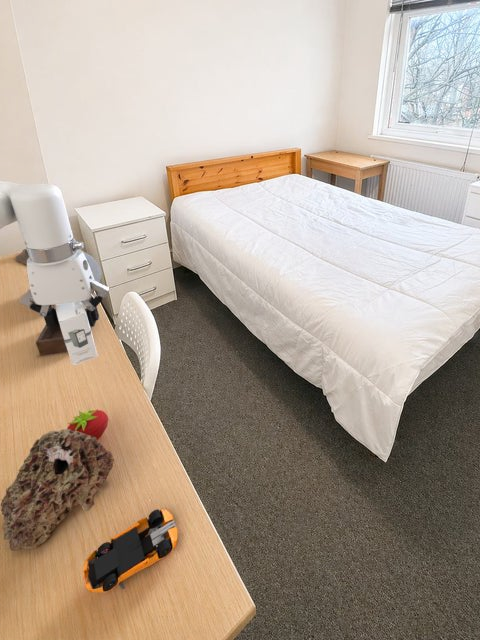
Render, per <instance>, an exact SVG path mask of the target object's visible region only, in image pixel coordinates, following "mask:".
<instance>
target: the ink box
mask: <svg viewBox="0 0 480 640" xmlns="http://www.w3.org/2000/svg"><path fill="white" fill-rule="evenodd" d="M85 308H86V307H85V305H84V304H83V303H82V302H81V301H80V302H71V303H63V304H54V309H56V313H57V317H58V321H59V324H60V328H61V331H62V335H63V338H64V341H65V344H66V347H67V350H68V351H67V353H68V357H69V359H70V362H71V364H72V367H75V366H77V365H80V364H83V363H85V362H88V361H91V360H93V359H96V358H98V356H99V355H98V351H97V347H96V343H95V340H94V336H93V332H92V329H91V328H92V327H91V326H90V325H89V321H88V318H87V314H86V311H85Z"/></svg>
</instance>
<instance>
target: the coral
mask: <svg viewBox="0 0 480 640" xmlns="http://www.w3.org/2000/svg"><path fill="white" fill-rule="evenodd" d="M114 461H115V459H114V457H113V453H112V452H111V451H110V450H108V449H106V447H105V446H103V444H102V443H101V442H98V441H97V439H96V437H93V436H90V435H86V434H84V433H81V432H78V431H75V432H74V431H72V430H70V429H67V428H65V429H61V430H50V431H49V432H46V433H44V434H42V435H41V437H40V438H38V439H36V440H35V442H34V443H33V445H32V447H30V449H29V453H28V455H27V457H26V458H25V459H24V460H23V464H22V465H21V466H20V467H19V469H18V473H17V475H16V478H15V480H14V481H13V482H12V483H11V484H10V485H9V487H7V488H5V495H4V496H3V498H2V499H1V502H0V507H1V508H0V512H1V515H3V520H4V523H3V527H2V529H3V540H5V541H7V540H8V548H9V549H10V550H11V551H19V550H21V549H25V550H27V549H29V550H30V549H38V548H39V547H40V546H41V545H42V544H43V543H45V542H46V541H47V539H48V538H50V537H52V531H54V530H55V529H56V527H57V525H59V524H60V523H61V521H63V520H64V519H66V518H67V517H68V514H69V513H71V511H72V510H74V509H75V508H76V507H77V506H78V505H80V506H81V508H82V509H83V511H84V512H89V511H90V510H91V508H92V507H93V506H94V505H95V500H94V497H95V494H96V493H98V491H99V490H100V489H101V488H102V487H103V486H104V483H105V481H106V480H107V478H108V476H109V475H110V472H111V470H112V469H113V467H114V466H113V465H114Z"/></svg>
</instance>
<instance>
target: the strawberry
mask: <svg viewBox="0 0 480 640" xmlns="http://www.w3.org/2000/svg"><path fill="white" fill-rule="evenodd" d="M78 413H79V414H78V416H73V417H72V418H73V420H71V421H70V422H68V423H67V425H68V426H67V428H66V429H70V430H72V431H74V432H75V431H78V432H81V433H84V434H86V435H90V436H93V437H96V439H97V442H98V441H99V440H100V439H101V438H102V436H103V434H104V433H105V432H106V430H107V428H108V423H109V415H108V414H107V413H106V412H105V411H103V410H101V409H98V408H97V409H95V410H94V409H93V410H90V408H88V409H87V410H86V411H85V412H82V411H81V410H78Z"/></svg>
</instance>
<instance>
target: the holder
mask: <svg viewBox="0 0 480 640" xmlns="http://www.w3.org/2000/svg"><path fill="white" fill-rule="evenodd" d="M84 308H85V311H87V308H86V307H84ZM35 346H36V347H37V350H38V353H39V356H41V357H43V356H47V355H48V356H49V355H53V354H54V355H55V354H60V353H61V354H62V353H66V352H67V353H68V350H67V347H66V344H65V341H64V338H63V335H62V331H61V328H60V324H59V325H58V327H57V329H56V331H54V332H51V331H50V328H49V327H47V325H46V324H45V326H44V327H43V328H42V331H41V332H40V334H39V336H38V338H37V339H36V341H35Z"/></svg>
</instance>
